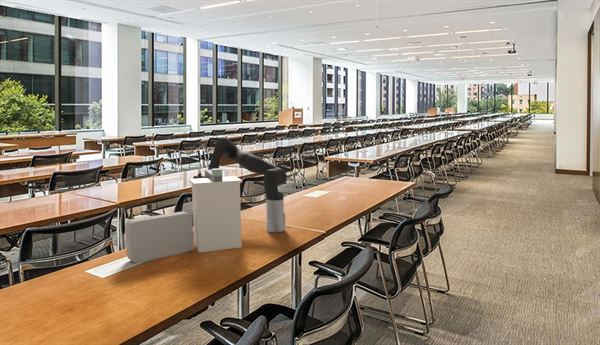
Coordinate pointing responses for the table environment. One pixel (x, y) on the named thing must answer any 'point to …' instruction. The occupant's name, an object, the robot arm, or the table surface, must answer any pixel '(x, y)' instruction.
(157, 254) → the rounded white slab
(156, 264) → the table surface
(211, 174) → the bar
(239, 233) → the tall stand
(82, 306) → the table surface
